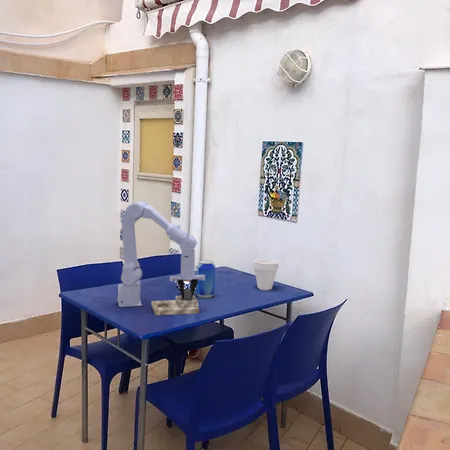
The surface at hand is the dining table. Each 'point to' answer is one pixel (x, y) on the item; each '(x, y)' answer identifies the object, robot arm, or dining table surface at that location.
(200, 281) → the beer can
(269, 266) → the cup
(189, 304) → the beige stepped block
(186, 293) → the plug
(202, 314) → the dining table surface
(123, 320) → the dining table surface
